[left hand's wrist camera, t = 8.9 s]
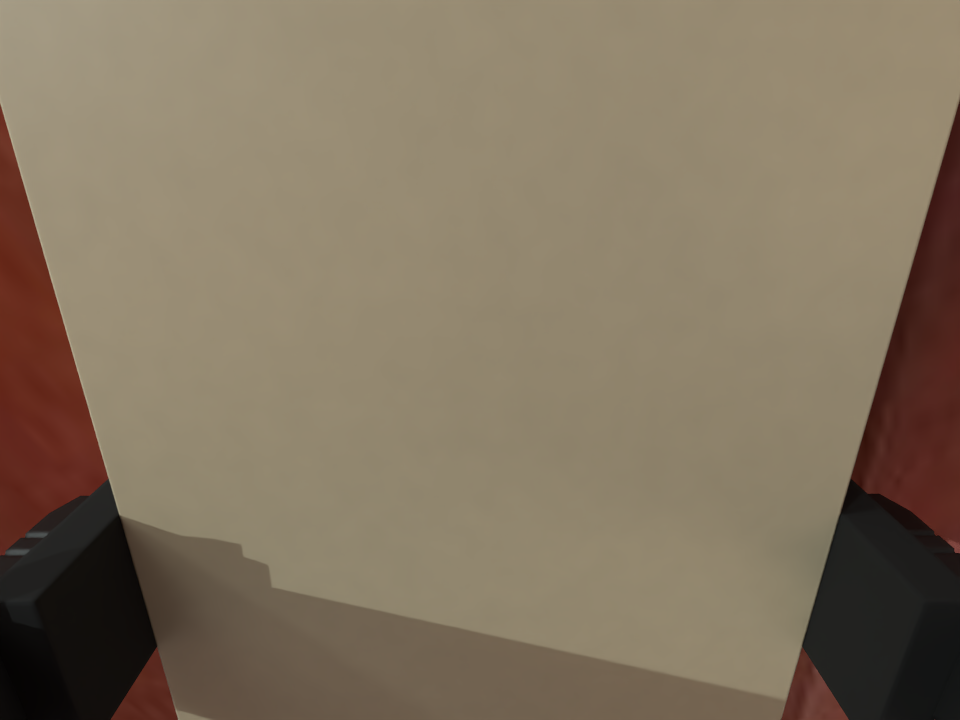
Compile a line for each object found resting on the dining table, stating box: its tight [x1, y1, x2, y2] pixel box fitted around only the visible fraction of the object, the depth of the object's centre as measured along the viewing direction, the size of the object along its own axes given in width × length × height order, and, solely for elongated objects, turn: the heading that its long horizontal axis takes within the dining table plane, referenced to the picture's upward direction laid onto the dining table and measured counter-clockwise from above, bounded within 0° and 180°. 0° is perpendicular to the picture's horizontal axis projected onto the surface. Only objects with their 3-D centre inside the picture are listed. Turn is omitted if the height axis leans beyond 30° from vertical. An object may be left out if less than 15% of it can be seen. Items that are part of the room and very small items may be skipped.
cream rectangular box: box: [0, 0, 960, 720], centre depth 11 cm, size 17×11×8 cm, turn 0°
